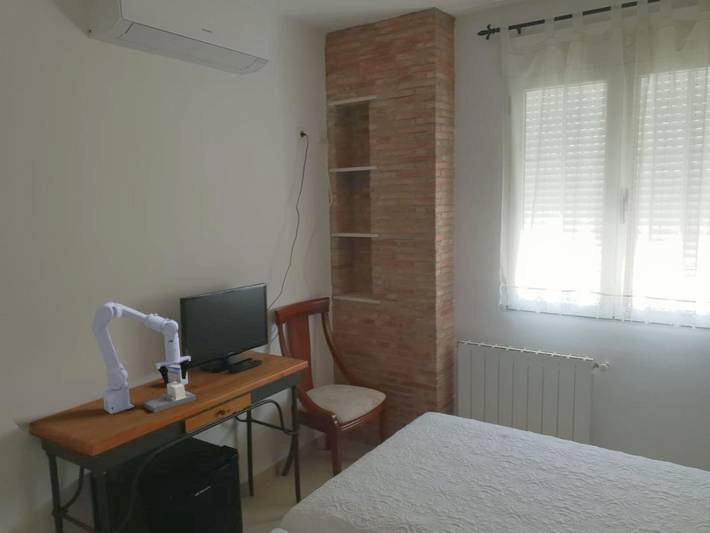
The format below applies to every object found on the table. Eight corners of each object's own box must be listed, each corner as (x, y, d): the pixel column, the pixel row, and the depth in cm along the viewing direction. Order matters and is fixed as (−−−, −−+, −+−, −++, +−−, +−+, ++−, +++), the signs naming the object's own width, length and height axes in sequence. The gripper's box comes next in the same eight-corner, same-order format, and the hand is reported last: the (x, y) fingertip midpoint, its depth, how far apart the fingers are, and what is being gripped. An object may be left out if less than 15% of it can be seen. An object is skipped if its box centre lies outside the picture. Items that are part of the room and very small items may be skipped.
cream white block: (176, 399, 223) (175, 387, 222) (167, 395, 229) (166, 383, 228) (185, 396, 226) (184, 385, 225) (176, 392, 231) (175, 381, 231)
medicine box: (168, 384, 250) (167, 366, 249) (176, 381, 254) (174, 363, 253) (181, 386, 247) (179, 368, 246) (188, 383, 250) (186, 365, 250)
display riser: (154, 412, 216) (153, 404, 215) (144, 406, 223) (143, 399, 222) (195, 399, 228) (195, 392, 227) (185, 394, 235) (184, 387, 235)
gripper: (159, 355, 217) (162, 387, 219) (193, 347, 227) (195, 378, 228) (152, 352, 222) (155, 384, 224) (185, 344, 232) (187, 375, 234)
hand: (175, 381), depth 226 cm, fingers open, 7 cm apart
